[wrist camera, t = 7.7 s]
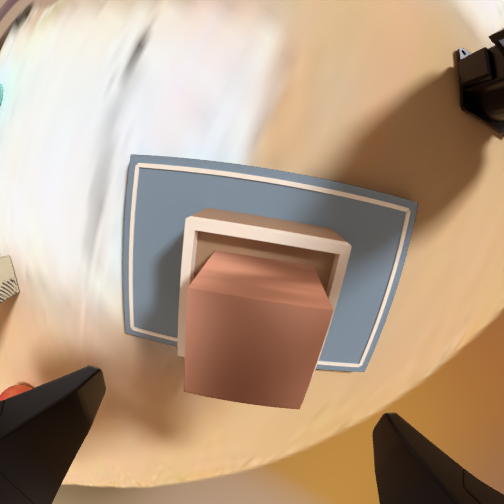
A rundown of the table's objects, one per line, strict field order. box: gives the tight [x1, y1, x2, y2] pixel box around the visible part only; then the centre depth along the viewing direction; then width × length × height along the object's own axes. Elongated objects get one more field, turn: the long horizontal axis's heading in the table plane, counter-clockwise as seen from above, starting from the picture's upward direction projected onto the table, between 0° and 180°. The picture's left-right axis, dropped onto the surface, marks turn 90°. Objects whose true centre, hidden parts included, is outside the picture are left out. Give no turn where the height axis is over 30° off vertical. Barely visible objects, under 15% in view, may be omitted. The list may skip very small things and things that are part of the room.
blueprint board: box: [123, 155, 418, 378], centre depth 17 cm, size 20×14×6 cm
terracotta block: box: [184, 250, 333, 409], centre depth 12 cm, size 5×5×5 cm
